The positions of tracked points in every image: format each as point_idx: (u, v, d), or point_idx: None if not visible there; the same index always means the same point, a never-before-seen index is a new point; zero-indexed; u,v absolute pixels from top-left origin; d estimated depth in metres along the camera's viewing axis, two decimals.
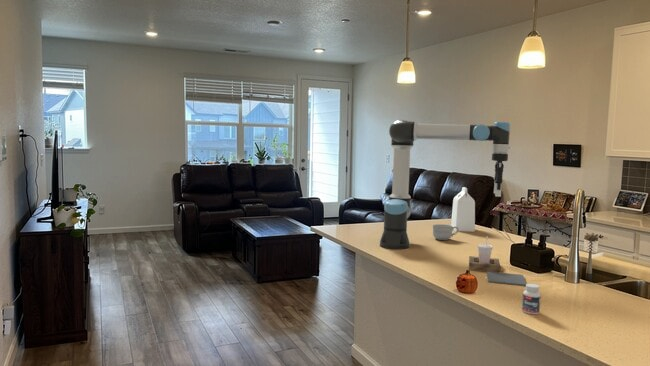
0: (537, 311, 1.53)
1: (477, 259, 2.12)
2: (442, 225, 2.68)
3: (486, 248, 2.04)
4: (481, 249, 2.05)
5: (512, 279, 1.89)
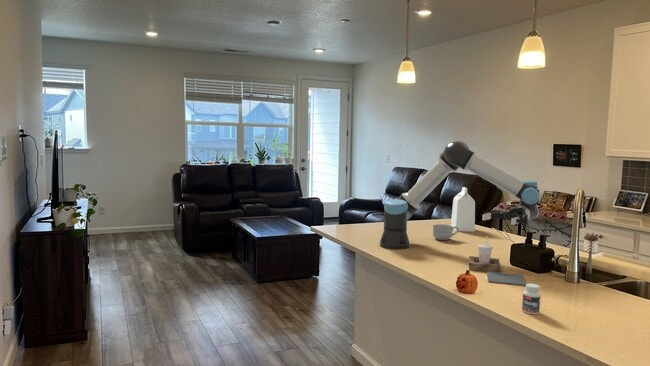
0: (537, 311, 1.53)
1: (477, 259, 2.12)
2: (442, 225, 2.68)
3: (486, 248, 2.04)
4: (481, 249, 2.05)
5: (512, 279, 1.89)
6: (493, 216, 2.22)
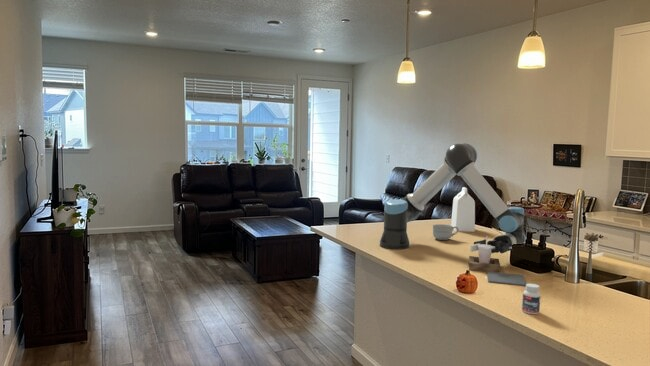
0: (537, 311, 1.53)
1: (477, 259, 2.12)
2: (442, 225, 2.68)
3: None
4: (481, 249, 2.05)
5: (512, 279, 1.89)
6: None
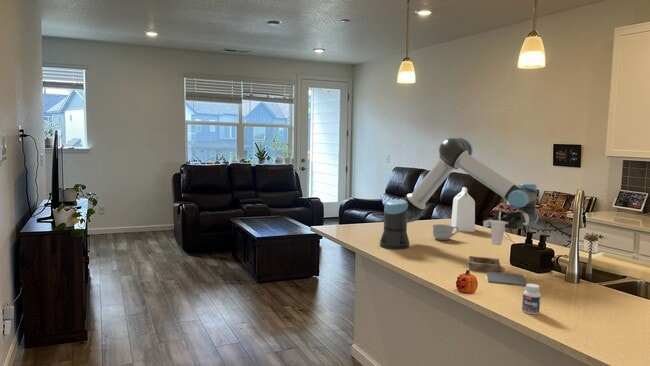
0: (537, 311, 1.53)
1: (477, 259, 2.12)
2: (442, 225, 2.68)
3: (499, 223, 1.96)
4: (494, 225, 1.97)
5: (512, 279, 1.89)
6: None
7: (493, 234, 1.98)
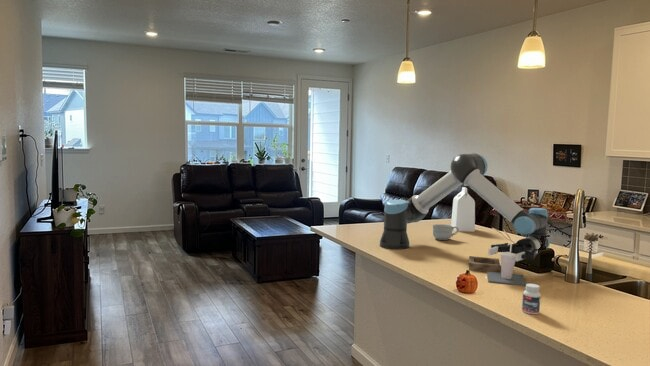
0: (537, 311, 1.53)
1: (477, 259, 2.12)
2: (442, 225, 2.68)
3: (510, 257, 1.87)
4: (504, 257, 1.88)
5: (512, 279, 1.89)
6: (500, 250, 1.97)
7: (503, 267, 1.89)
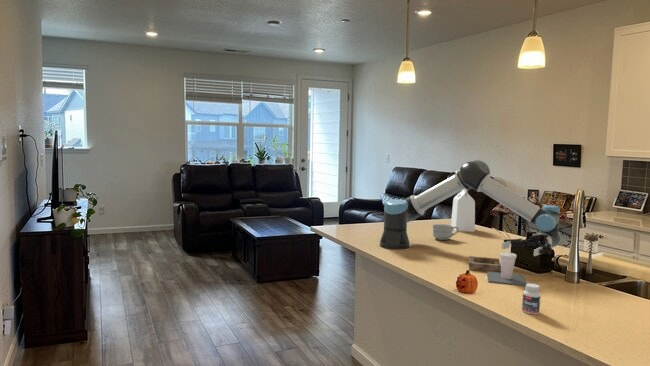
0: (537, 311, 1.53)
1: (477, 259, 2.12)
2: (442, 225, 2.68)
3: (509, 257, 1.87)
4: (504, 258, 1.88)
5: (512, 279, 1.89)
6: (513, 244, 2.07)
7: (503, 267, 1.89)
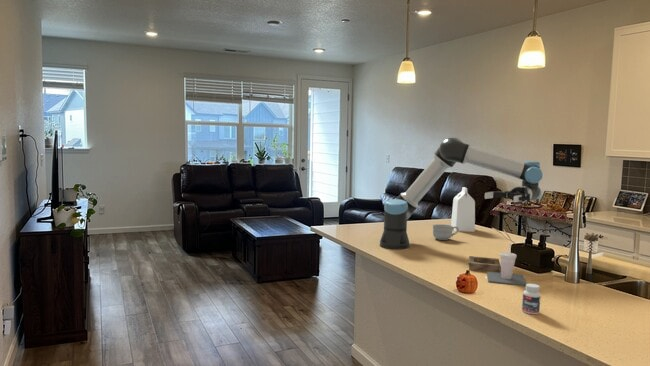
0: (537, 311, 1.53)
1: (477, 259, 2.12)
2: (442, 225, 2.68)
3: (509, 257, 1.87)
4: (504, 258, 1.88)
5: (512, 279, 1.89)
6: (495, 195, 2.23)
7: (503, 267, 1.89)
